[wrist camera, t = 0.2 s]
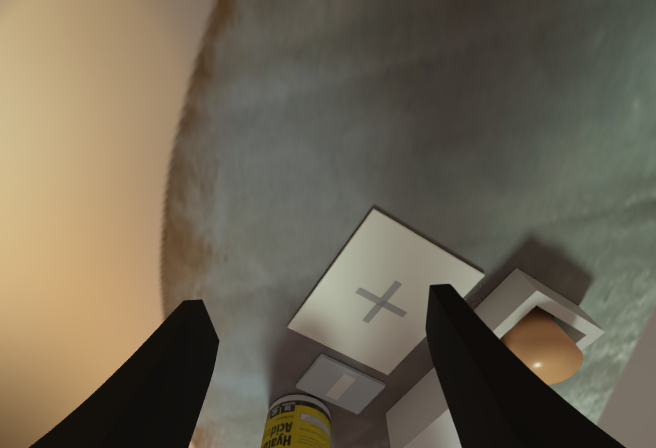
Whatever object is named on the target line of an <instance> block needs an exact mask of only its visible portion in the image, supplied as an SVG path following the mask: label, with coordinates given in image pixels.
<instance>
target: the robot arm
mask: <svg viewBox="0 0 656 448" xmlns="http://www.w3.org/2000/svg"><path fill="white" fill-rule="evenodd" d="M425 330H426V335H427V340H428V344H429V349H430V353H431V357H432V361H433V364H434V367H435V370H436V373H437V376H438V379H439V382H440V385H441V388H442V391H443V394H444V397H445V400H446V402H447V405H448V408H449V411H450V414H451V417H452V420H453V423H454V426H455V428H456V431H457V434H458V437H459V441H460V444H461V447H462V448H626V447H624V446H623V445H622V444H620V443H619V442H618V441H616V440H615V439H613V438H612V437H611V436H610V435H608V434H607V433H606V432H604V431H603V430H602V429H600V428H599V427H598V426H596V425H595V424H594V423H592V422H591V421H590V420H589V419H587V418H586V417H585V416H584V415H583V414H581V413H580V412H579V411H578V410H576V409H575V408H574V407H573V406H571V405H570V404H569V403H568V402H567V401H565V400H564V399H563V398H562V397H561V396H560V395H558V394H557V393H556V392H555V391H554V390H553V389H551V388H550V387H549V386H548V385H547V384H546V383H545V382H544V381H542V380H541V379H540V378H539V377H538V376H537V375H536V374H535V373H534V372H533V371H532V370H530V369H529V368H528V367H527V366H526V365H525V364H524V363H523V362H522V361H521V360H520V359H519V358H518V357H517V356H516V355H515V354H514V353H513V352H512V351H511V350H510V349H509V348H508V347H507V346H506V345H505V344H504V343H503V342H502V341H501V340H500V339H499V338H498V337H497V336H496V335H495V334H494V333H493V331H492V330H491V329H490V328H489V327H488V326H487V325H486V324H485V323H484V322H483V321H482V320H481V319H480V317H479V316H478V315H477V314H476V313H475V312H474V311H473V309H472V308H471V307H470V306H469V305H468V304H467V303H466V301H465V300H464V299H463V298H462V297H461V295H460V294H459V293H458V292H457V291H456V289H455V288H454V287H453V286H452V285H451V284H435V285H430V287H429V296H428V306H427V316H426V326H425ZM218 345H219V339H218V336H217V334H216V332H215V329H214V327H213V324H212V322H211V320H210V317H209V315H208V312H207V310H206V307H205V305H204V303H203V300H186V301H183V302H182V303H181V304H180V305H179V306H178V307H177V308H176V309H175V310H174V311H173V312H172V313H171V315H170V316H169V317H168V318H167V319H166V320H165V321H164V322H163V323H162V324H161V325H160V326H159V328H158V329H157V330H156V331H155V332H154V333H153V334H152V335H151V336H150V337H149V338H148V339H147V340H146V341H145V342H144V343H143V344H142V346H141V347H140V348H139V349H138V350H137V351H136V352H135V353H134V354H133V355H132V356H131V357H130V358H129V359H128V360H127V361H126V362H125V363H124V364H123V365H122V366H121V367H120V368H119V369H118V370H117V371H116V372H115V373H114V374H113V375H112V376H111V377H110V378H109V379H108V380H107V381H106V382H105V383H104V384H103V385H102V386H101V387H100V388H98V389H97V390H96V391H95V392H94V393H93V394H92V395H91V396H90V397H89V398H88V399H87V400H85V401H84V402H83V403H82V404H81V405H80V406H79V407H78V408H76V409H75V410H74V411H73V412H72V413H71V414H69V415H68V416H67V417H66V418H65V419H64V420H62V421H61V422H60V423H59V424H58V425H57V426H55V427H54V428H53V429H52V430H51V431H49V432H48V433H47V434H46V435H44V436H43V437H42V438H40V439H39V440H38V441H37V442H35V443H34V444H33V445H32V446H30V447H29V448H188V447H189V444H190V441H191V438H192V435H193V432H194V429H195V426H196V423H197V420H198V417H199V414H200V411H201V408H202V405H203V402H204V399H205V396H206V393H207V390H208V387H209V384H210V381H211V377H212V374H213V370H214V366H215V361H216V356H217V351H218Z"/></svg>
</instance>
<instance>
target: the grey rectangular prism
mask: <svg viewBox="0 0 656 448" xmlns="http://www.w3.org/2000/svg"><path fill="white" fill-rule="evenodd" d="M386 420H387V427H388V434H389V440H390V447H391V448H462V447H461V444H460V441H459V437H458V434H457V431H456V428H455V426H454V423H453V420H452V417H451V414H450V411H449V408H448V405H447V402H446V400H445V397H444V394H443V391H442V388H441V385H440V382H439V379H438V376H437V373H436V370H435V367H433V368H432V369H431V370H430V371H429V372H428V373H427V374H426V375H425V376H424V377H423V378H422V379H421V380H420V381H419V382H418V383H417V384H416V385H415V386H414V387H413V388H412V389H411V390H410V391H409V392H408V393H406V394H405V395H404V396H403V397H402V398H401V399H400V400H399V401H398V402H397V403H396V404H395V405H394V406H393V407H392V408H391V409H390V410H389V411H388V412H387V413H386Z"/></svg>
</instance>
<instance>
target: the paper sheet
mask: <svg viewBox="0 0 656 448" xmlns="http://www.w3.org/2000/svg"><path fill="white" fill-rule="evenodd" d="M484 276H485V275H484V274H483V273H481V272H480V271H478V270H476V269H475V268H473V267H471V266H470V265H468V264H466V263H465V262H463V261H461V260H460V259H458V258H456V257H455V256H453V255H451V254H450V253H448V252H446V251H445V250H443V249H441V248H440V247H438V246H436V245H435V244H433V243H431V242H430V241H428V240H426V239H425V238H423V237H421V236H419V235H418V234H416V233H414V232H413V231H411V230H409V229H408V228H406V227H404V226H403V225H401V224H399V223H398V222H396V221H394V220H393V219H391V218H389V217H388V216H386V215H384V214H383V213H381V212H379V211H378V210H376V209H374V208H373V209H372V210H371V212H370V213H369V215H368V216H367V217H366V219H365V220H364V221H363V223H362V224H361V226H360V227H359V228H358V230H357V231H356V232H355V234H354V235H353V237H352V238H351V239H350V241H349V242H348V243H347V245H346V246H345V248H344V249H343V250H342V252H341V253H340V254H339V256H338V257H337V259H336V260H335V261H334V263H333V264H332V265H331V267H330V268H329V270H328V271H327V272H326V274H325V275H324V276H323V278H322V279H321V280H320V282H319V283H318V285H317V286H316V287H315V289H314V290H313V291H312V293H311V294H310V296H309V297H308V298H307V300H306V301H305V302H304V304H303V305H302V307H301V308H300V309H299V311H298V312H297V313H296V315H295V316H294V318H293V319H292V320H291V322H290V323H289V324H288V328H290V329H292V330H294V331H296V332H298V333H300V334H302V335H304V336H306V337H308V338H311V339H313V340H315V341H317V342H319V343H321V344H323V345H325V346H327V347H329V348H331V349H334V350H336V351H338V352H340V353H342V354H344V355H346V356H348V357H350V358H352V359H355V360H357V361H359V362H361V363H363V364H365V365H367V366H369V367H371V368H373V369H375V370H378V371H380V372H382V373H384V374H386V375H389V374H390V373H391V372H392V370H393V369H394V368H395V367H396V366H397V365H398V364H399V363H400V362H401V361H402V360H403V359H404V358H405V357H406V356H407V355H408V354H409V353H410V352H411V351H412V350H413V349H414V348H415V347H416V346H417V345H418V344H419V343H420V342H421V341H422V340H423V339H424V338H425V337H426V330H425V326H426V316H427V306H428V296H429V287H430V285H435V284H451V285H452V286H453V287H454V288H455V289H456V291H457V292H458V293H459V294H460V295H461V297H462V298H463V297H464V296H465V295H466V294H467V293H468V292H469V291H470V290H471V289H472V288H473V287H474V286H475V285H476V284H477V283H478V282H479V281H480V280H481V279H482V278H483V277H484Z"/></svg>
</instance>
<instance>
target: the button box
mask: <svg viewBox="0 0 656 448" xmlns="http://www.w3.org/2000/svg"><path fill="white" fill-rule="evenodd" d="M536 305H537V306H539V307H540V308H542V309H544V310H545V311H547V312H549V313H550V314H552V315H554V317H553V319H554V320H555V321H556V323H557V324H558V325H559V326H560V327H561V328H562V329H563V331H564V332H565V333H566V334H567V335H568V336H569V337H570V339H571V340H572V341H573V342H574V343H575V344H576V345H577V346H578V348H579V349H580V350H581V351H582V350H583V349H585V348H586V347H587V346H588V345H590V344H591V343H592V342H593V341H595V340H596V339H597V338H599V337H600V336H601V335H602V334H604V333H605V331H604V330H603V329H602V328H601V327H600V326H599V325H598V324H597V323H596V322H595V321H594V320H592V319H591V318H590V317H589V316H588V315H587V314H586V313H585V312H584V311H583V310H582V309H581V308H580V307H579V306H577V305H576V304H574V303H572V302H571V301H569V300H568V299H566V298H564V297H563V296H561V295H560V294H558V293H556V292H555V291H553V290H551V289H550V288H548V287H547V286H545V285H543V284H542V283H540V282H538V281H537V280H535V279H534V278H532V277H530V276H529V275H527V274H526V273H524V272H522V271H521V270H519V269H517V268H516V269H515V270H514V271H513V272H512V273H511V274H510V275H509V276H508V277H507V278H506V279H505V280H504V281H503V282H502V283H501V284H500V285H498V286H497V287H496V288H495V289H494V290H493V291H492V292H491V293H490V294H489V295H488V296H487V297H486V298H485V299H484V300H483V301H482V302H481V303H480V304H479V305H478V306H477V307H476V308H475V309H474V310H473V311H474V312H475V313H476V314H477V315H478V316H479V317H480V319H481V320H482V321H483V322H484V323H485V324H486V325H487V326H488V327H489V328H490V329H491V330H492V331H493V333H494V334H495V335H496V336H497V337H498V338H499V339H500V338H501V337H502V336H503V335H504V334H505V333H507V332H508V331H509V330H510V329H511V328H512V327H513V326H514V325H515V324H516V323H518V322H519V321H520V320H521V319H522V318H523V317H524V316H525V315H526V314H527V313H529V312H530V311H531V310H532V309H533V308H534V307H535V306H536Z"/></svg>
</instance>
